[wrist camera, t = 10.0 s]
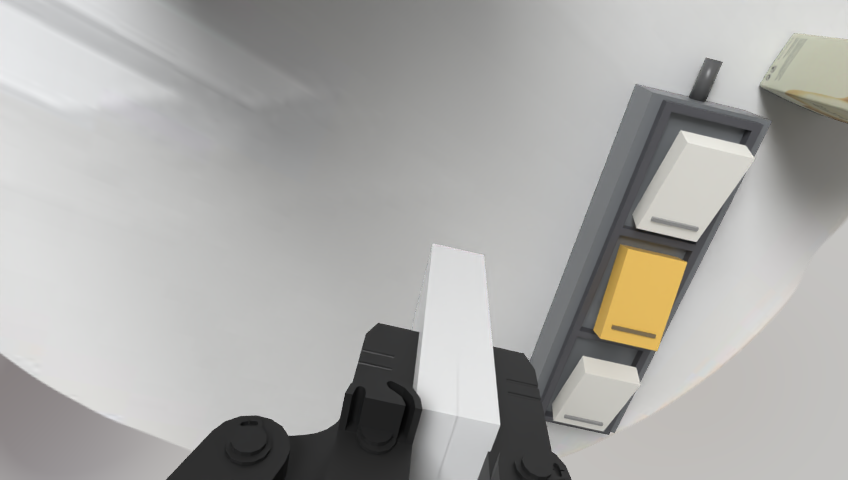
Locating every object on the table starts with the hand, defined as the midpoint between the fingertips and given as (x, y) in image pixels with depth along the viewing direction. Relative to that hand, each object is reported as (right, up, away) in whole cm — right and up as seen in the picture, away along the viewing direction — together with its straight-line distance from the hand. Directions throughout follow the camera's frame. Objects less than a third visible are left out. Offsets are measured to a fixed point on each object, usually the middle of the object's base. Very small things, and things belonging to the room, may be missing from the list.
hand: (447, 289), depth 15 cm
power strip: (+17, 0, +32) cm, 37 cm away
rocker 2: (+19, +6, +24) cm, 31 cm away
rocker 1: (+15, -12, +33) cm, 38 cm away
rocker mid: (+17, -3, +28) cm, 33 cm away
